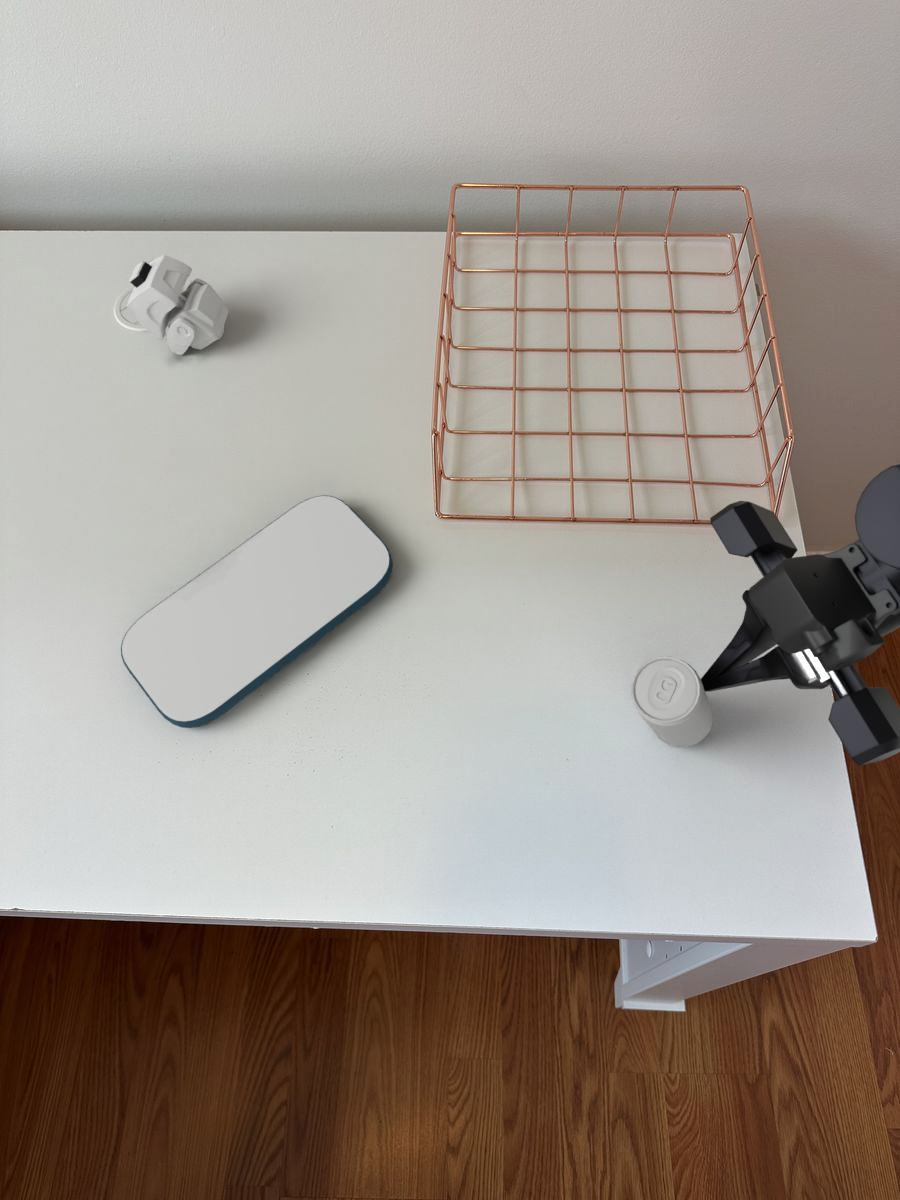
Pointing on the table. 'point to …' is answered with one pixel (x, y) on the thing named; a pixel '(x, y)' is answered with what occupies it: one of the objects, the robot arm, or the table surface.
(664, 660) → the beverage can
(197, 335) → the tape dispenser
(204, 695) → the external hard drive
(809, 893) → the table surface
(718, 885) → the table surface
